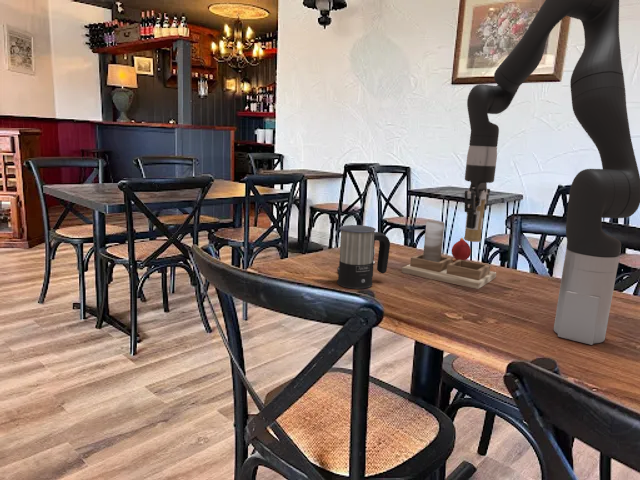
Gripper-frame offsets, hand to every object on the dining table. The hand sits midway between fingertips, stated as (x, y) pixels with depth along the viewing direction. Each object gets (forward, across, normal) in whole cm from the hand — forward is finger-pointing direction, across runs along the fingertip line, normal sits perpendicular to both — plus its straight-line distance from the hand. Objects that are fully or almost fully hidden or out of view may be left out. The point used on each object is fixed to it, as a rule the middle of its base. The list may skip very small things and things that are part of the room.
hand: (473, 226), depth 132 cm
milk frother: (+15, -24, +23) cm, 36 cm away
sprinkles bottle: (+4, 0, 0) cm, 4 cm away
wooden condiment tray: (+15, 0, +6) cm, 16 cm away
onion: (+15, +17, +9) cm, 24 cm away
